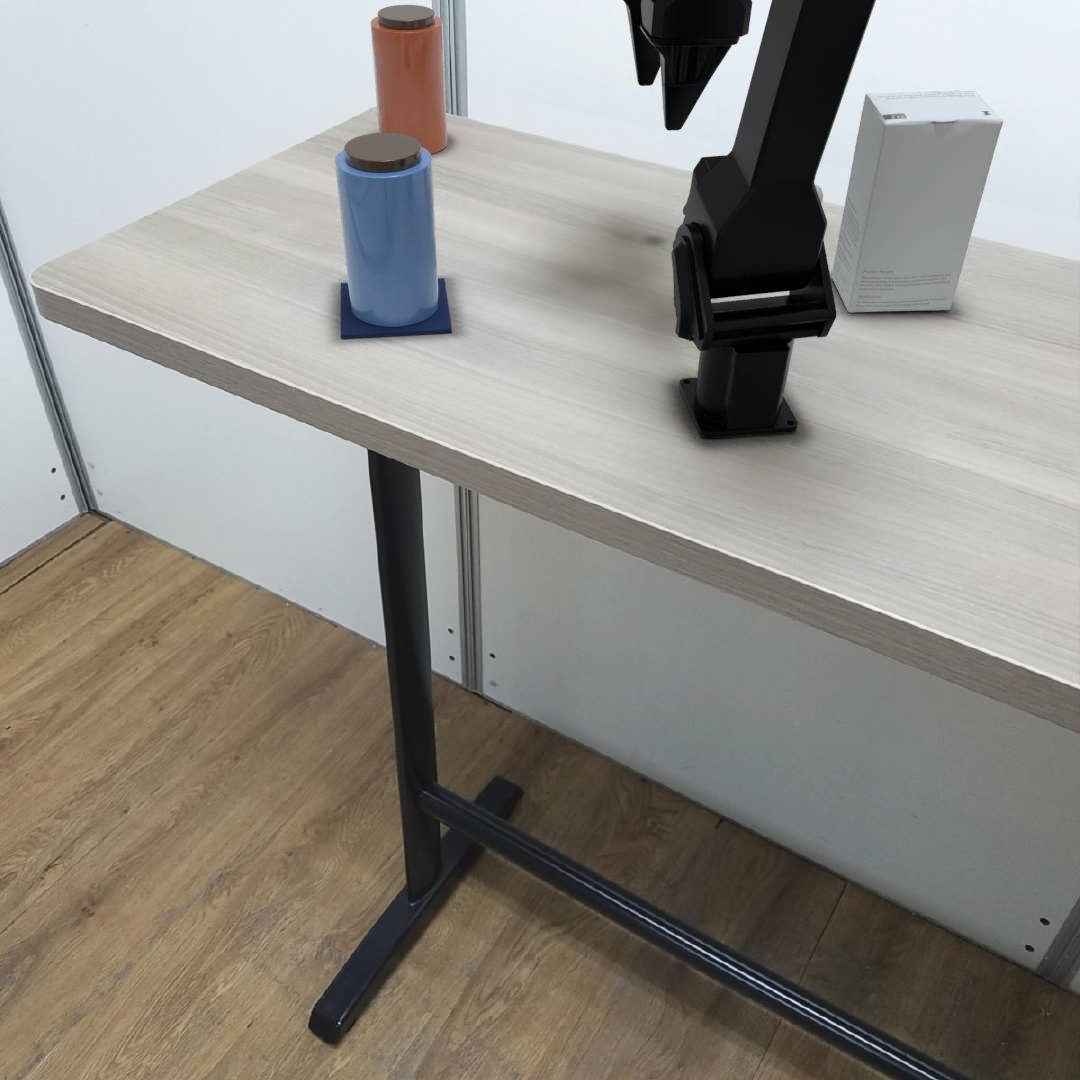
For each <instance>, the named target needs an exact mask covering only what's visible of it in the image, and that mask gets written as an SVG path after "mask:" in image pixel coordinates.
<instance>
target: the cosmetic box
mask: <svg viewBox="0 0 1080 1080" xmlns="http://www.w3.org/2000/svg"><path fill="white" fill-rule="evenodd" d="M1003 125H1004V119H1002V118H1001V116H999V114H998V113H997V112H996V111H995V110H994V108H993V107H991V106H990V105H989V104H988V102H986V101H985V99H984V98H983V97H982V96H981V94H980V93H979V92H978V91H977V90H976V89H961V90H959V89H958V90H944V91H943V90H941V91H937V90H936V91H913V92H911V91H910V92H908V91H907V92H906V91H905V92H867V93H865V96H864V99H863V106H862V110H861V115H860V120H859V126H858V131H857V136H856V141H855V146H854V151H853V152H854V153H853V158H852V163H851V169H850V175H849V180H848V185H847V191H846V196H845V202H844V207H843V212H842V218H841V223H840V227H839V233H838V239H837V244H836V250H835V255H834V260H833V265H832V270H831V271H832V272H831V278H832V281H833V283H834V286H835V287H836V289H837V292H838V294H839V296H840V298H841V300H842V303H843V304H844V307H845V308H846V309H845V310H846V312H848V313H868V312H869V313H873V312H874V313H876V312H877V313H878V312H879V313H880V312H913V311H914V312H915V311H917V312H918V311H950V310H951V308H952V305H953V302H954V299H955V295H956V291H957V288H958V283H959V280H960V277H961V274H962V269H963V266H964V262H965V258H966V255H967V251H968V247H969V243H970V240H971V236H972V234H973V229H974V225H975V222H976V219H977V215H978V211H979V208H980V204H981V201H982V198H983V195H984V191H985V187H986V183H987V181H988V176H989V172H990V169H991V166H992V163H993V158H994V156H995V151H996V147H997V144H998V140H999V137H1000V135H1001V130H1002V128H1003Z"/></svg>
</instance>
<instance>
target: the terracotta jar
mask: <svg viewBox="0 0 1080 1080" xmlns="http://www.w3.org/2000/svg"><path fill="white" fill-rule="evenodd" d="M376 14H377V16H375V17H373V18H372V19H371V20H370V23H369V24H370V35H371V36H370V38H371V48H372V49H371V50H372V60H373V73H374V74H373V75H374V85H375V99H376V110H377V111H376V112H377V123H378V133H397V134H403V135H407V136H410V137H413V138H415V139H416V140H418V141H419V142H420V144H421V147H423V148H425V149H426V150H428V151H429V152H430V154H431V155H433V154H436V153H439V152H441V151H443V150H444V149H445V148H446V147H447V146H448V123H447V97H446V95H447V94H446V70H445V47H444V46H445V44H444V43H445V41H444V21H443V19H442V18H441V17H439V16H436V13H435V10H434V9H432V8H430V7H427V6H424V5H417V4H397V5H396V4H395V5H389V6H385V7H383V8H380V9H379V10H378V11H377V13H376Z"/></svg>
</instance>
